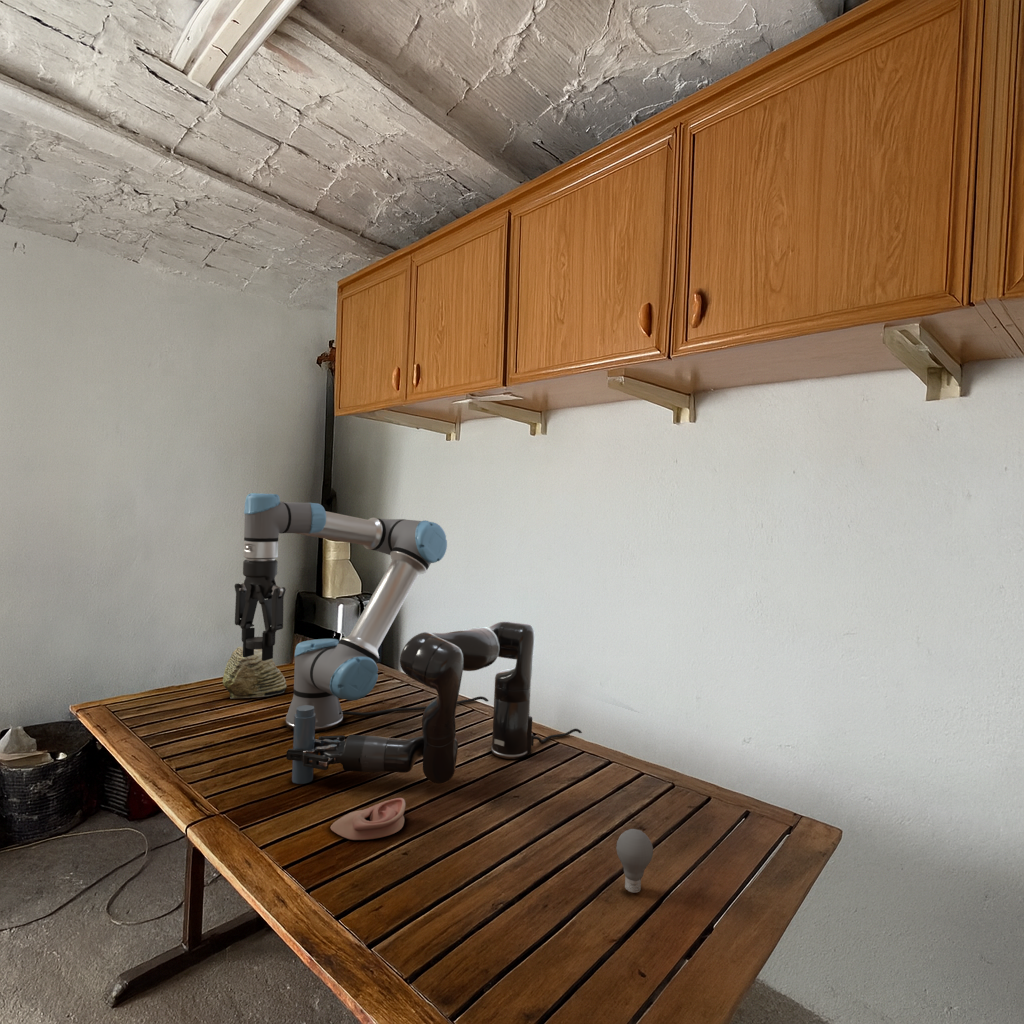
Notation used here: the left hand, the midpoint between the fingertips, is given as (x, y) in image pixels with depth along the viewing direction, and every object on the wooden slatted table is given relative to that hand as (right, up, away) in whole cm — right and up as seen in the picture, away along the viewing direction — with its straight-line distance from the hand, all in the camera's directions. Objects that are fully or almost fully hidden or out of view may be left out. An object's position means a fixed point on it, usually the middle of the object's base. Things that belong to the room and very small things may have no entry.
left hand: (257, 657), depth 149 cm
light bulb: (+80, -29, -43) cm, 95 cm away
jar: (+13, -26, -7) cm, 30 cm away
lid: (0, +4, 0) cm, 4 cm away
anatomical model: (+32, -27, -26) cm, 49 cm away
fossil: (-21, -23, +49) cm, 58 cm away
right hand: (+11, -19, -8) cm, 23 cm away
